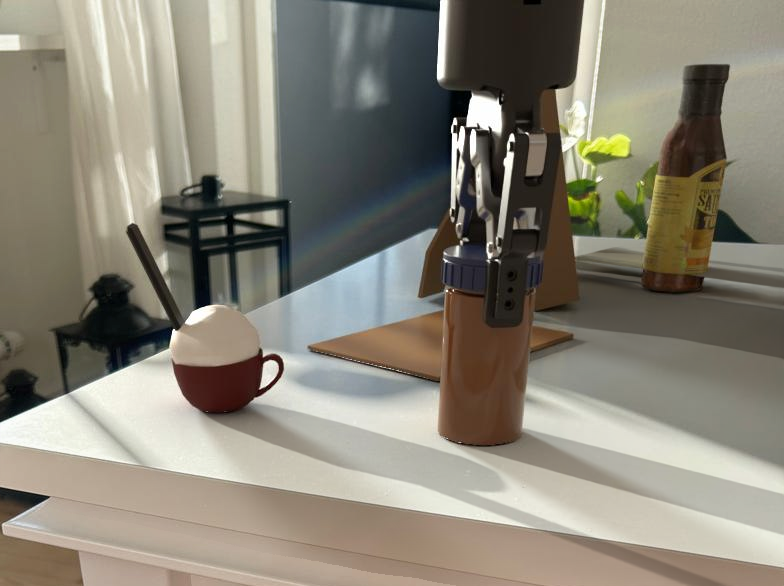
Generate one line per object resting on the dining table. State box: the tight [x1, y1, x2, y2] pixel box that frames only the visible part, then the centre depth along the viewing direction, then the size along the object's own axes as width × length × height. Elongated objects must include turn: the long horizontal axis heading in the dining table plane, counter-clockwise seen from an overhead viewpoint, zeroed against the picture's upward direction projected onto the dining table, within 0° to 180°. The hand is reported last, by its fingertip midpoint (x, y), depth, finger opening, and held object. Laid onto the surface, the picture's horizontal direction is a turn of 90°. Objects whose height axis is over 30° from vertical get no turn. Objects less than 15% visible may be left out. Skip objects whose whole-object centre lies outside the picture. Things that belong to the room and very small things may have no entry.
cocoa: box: [125, 222, 285, 413], centre depth 69 cm, size 10×6×12 cm, turn 60°
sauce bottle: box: [641, 63, 731, 293], centre depth 99 cm, size 6×6×20 cm
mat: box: [306, 309, 574, 382], centre depth 86 cm, size 18×14×1 cm
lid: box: [441, 243, 544, 292], centre depth 61 cm, size 6×6×2 cm
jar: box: [437, 285, 536, 446], centre depth 63 cm, size 5×5×10 cm
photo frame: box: [417, 89, 581, 312], centre depth 99 cm, size 15×22×25 cm
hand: (487, 312), depth 62 cm, fingers closed on lid, 5 cm apart
